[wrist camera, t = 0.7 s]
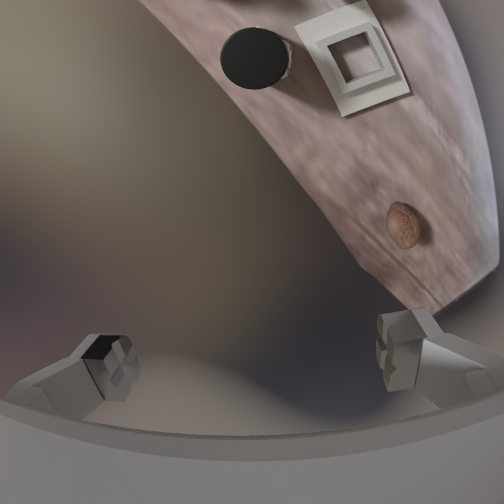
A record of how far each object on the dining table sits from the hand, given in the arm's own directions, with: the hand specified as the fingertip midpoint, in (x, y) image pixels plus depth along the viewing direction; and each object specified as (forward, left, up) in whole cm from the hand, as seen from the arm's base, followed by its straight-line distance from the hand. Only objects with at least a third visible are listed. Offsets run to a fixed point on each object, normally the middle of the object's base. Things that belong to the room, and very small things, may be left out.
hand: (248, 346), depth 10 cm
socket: (-3, +11, -45) cm, 47 cm away
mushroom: (+25, +8, -45) cm, 52 cm away
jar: (-9, -1, -45) cm, 46 cm away
